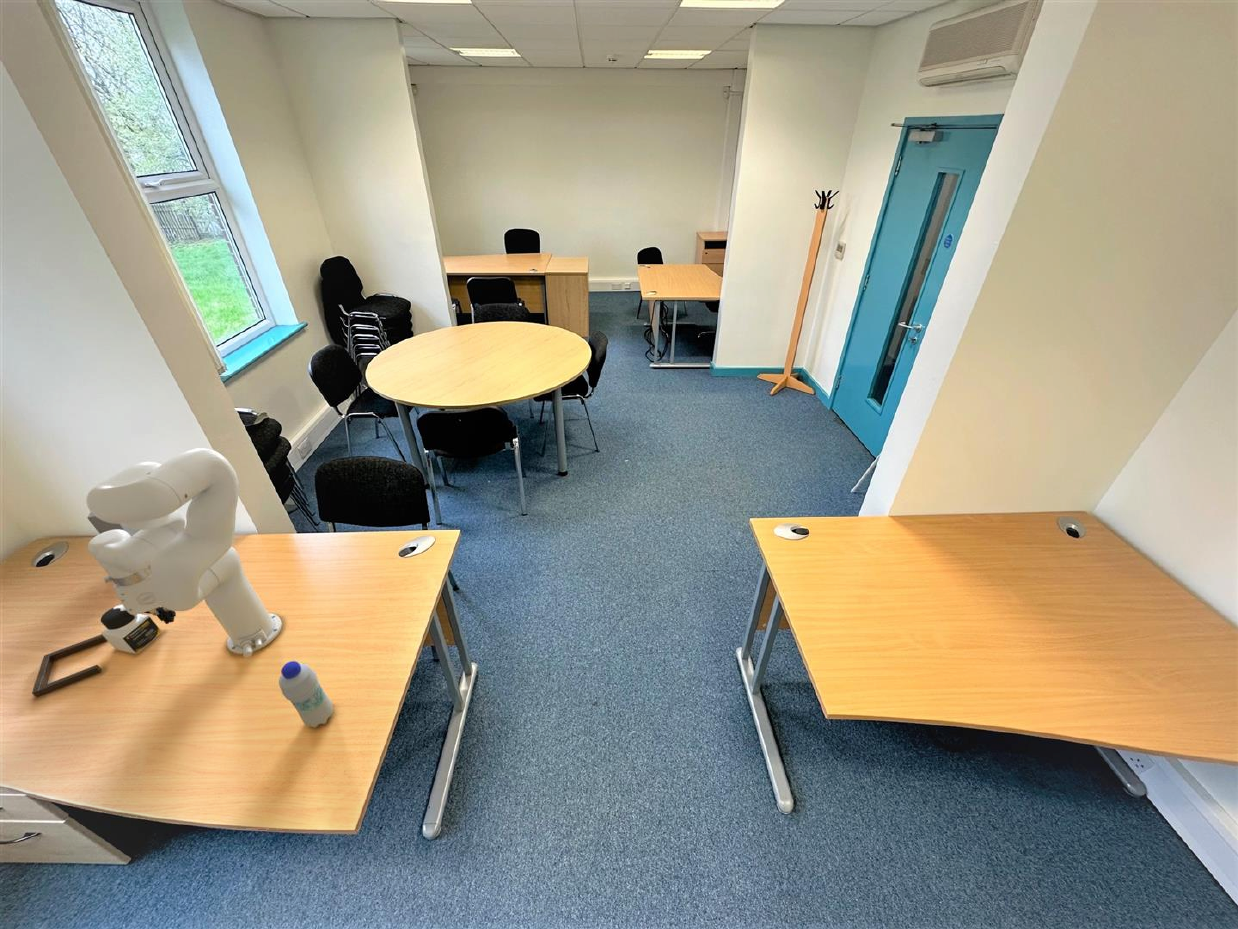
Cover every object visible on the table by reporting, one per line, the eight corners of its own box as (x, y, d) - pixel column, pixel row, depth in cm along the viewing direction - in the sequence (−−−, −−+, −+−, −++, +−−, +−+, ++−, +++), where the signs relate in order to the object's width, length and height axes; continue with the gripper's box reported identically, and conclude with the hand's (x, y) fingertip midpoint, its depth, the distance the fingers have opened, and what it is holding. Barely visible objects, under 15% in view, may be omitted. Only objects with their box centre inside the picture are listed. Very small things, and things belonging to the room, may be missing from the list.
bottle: (328, 697, 118) (298, 647, 107) (341, 714, 114) (311, 664, 103) (299, 718, 113) (264, 668, 102) (312, 737, 110) (277, 687, 99)
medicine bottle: (137, 654, 128) (110, 625, 121) (115, 650, 129) (88, 620, 122) (163, 632, 134) (139, 603, 127) (142, 628, 135) (117, 599, 128)
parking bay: (101, 672, 123) (96, 667, 122) (37, 698, 118) (31, 693, 117) (108, 637, 132) (104, 633, 131) (48, 660, 126) (43, 655, 125)
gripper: (92, 595, 117) (134, 642, 127) (169, 569, 124) (203, 616, 134) (97, 576, 122) (137, 623, 132) (171, 552, 129) (203, 598, 140)
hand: (170, 619), depth 133 cm, fingers closed
